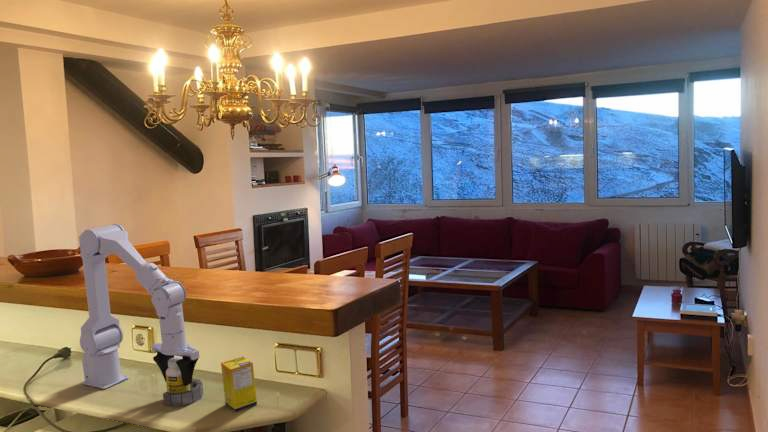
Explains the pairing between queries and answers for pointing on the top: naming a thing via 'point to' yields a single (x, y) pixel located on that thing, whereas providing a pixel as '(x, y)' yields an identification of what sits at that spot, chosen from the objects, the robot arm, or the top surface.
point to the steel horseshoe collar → (185, 395)
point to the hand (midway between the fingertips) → (178, 382)
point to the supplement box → (239, 383)
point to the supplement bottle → (174, 377)
